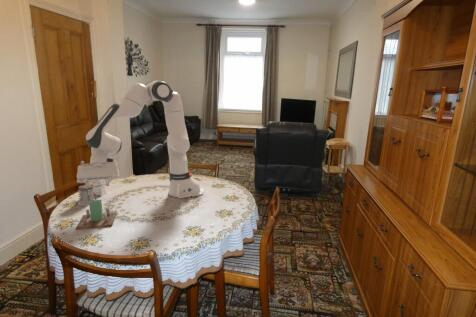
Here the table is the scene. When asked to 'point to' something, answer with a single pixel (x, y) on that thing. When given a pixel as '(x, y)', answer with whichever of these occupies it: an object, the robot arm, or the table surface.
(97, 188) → the ink cartridge box
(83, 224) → the standoff cradle
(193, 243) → the table surface
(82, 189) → the french press
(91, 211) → the green rectangular block
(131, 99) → the robot arm
